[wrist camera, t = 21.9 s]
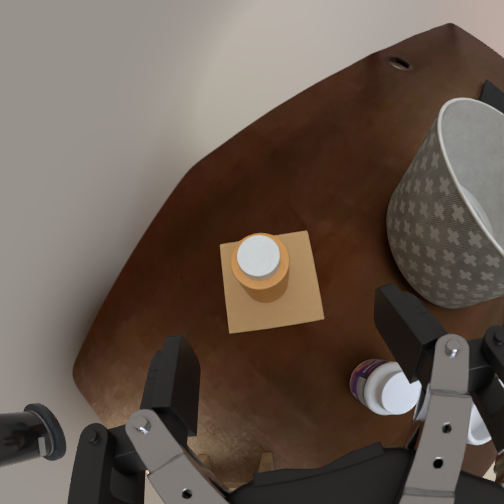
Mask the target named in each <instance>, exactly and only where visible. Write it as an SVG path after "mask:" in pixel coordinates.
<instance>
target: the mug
mask: <svg viewBox="0 0 504 504" xmlns="http://www.w3.org/2000/svg"><path fill="white" fill-rule="evenodd" d="M498 380H499V381H500V383H501V384H502V386H503V388H504V385H503V383H502V381H501V380H500V379H498ZM491 439H492V438H491V436H490V434H489V432H488V430H487V428H486V426H485V424H484V422H483V420H482V418H481V416H480V414H479V412H478V410H477V408H476V406H475V404H474V403H473V401H472V408H471V417H470V424H469V431H468V437H467V442H466V443H469V444H473V445H481V444H484V443H486V442H488V441H490V440H491Z"/></svg>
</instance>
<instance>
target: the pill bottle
mask: <svg viewBox="0 0 504 504" xmlns="http://www.w3.org/2000/svg"><path fill="white" fill-rule="evenodd" d="M420 388H421V383H420V382H419V380H418V381H416V382H414V383H412V384H410V383H409V381H408V380H407V378H406V376H405V374H404V373H403V371H402V369H401V368H400V366H399V364H398V362H392V361H386V360H379V359H370V360H367V361H364V362H362V363H361V364H359V365H358V366H357V367H356V368H355V370H354V371H353V373H352V375H351V378H350V389H351V392H352V394H353V396H354V397H355V398H356V399H357V400H359V401H360V402H361V403H362V404H364V405H365V406H366V407H368V408H369V409H370V410H372V411H373V412H375V413H377V414H380V415H390V414H403V413H405V412H407V411H409V410H410V409H412V408H413V407H414V406H415V404H416V403H417V401H418V396H419V392H420Z"/></svg>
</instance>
